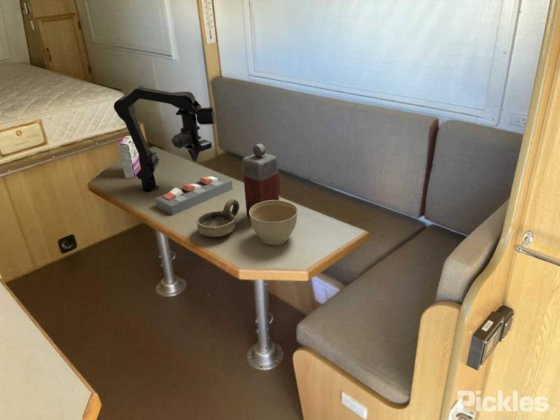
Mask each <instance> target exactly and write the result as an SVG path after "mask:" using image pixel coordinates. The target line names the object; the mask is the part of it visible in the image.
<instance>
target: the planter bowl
mask: <svg viewBox="0 0 560 420" xmlns="http://www.w3.org/2000/svg"><path fill="white" fill-rule="evenodd" d="M298 211H299V209H298V207H297V205H295V204H294V203H292V202H290V201H286V200H281V199H279V200H269V201H264V202H260V203H257V204H255V205H254V206H253V207H251V209H250V211H249V215H250V217H249V218H250V223H251V226H252V228H253V230H254V232H255V233H256V234H257V235H258V237H259V238H260V241H261V242H262V243H263V244H265V245H269V246H279V245H283V244H285V243H286V242H287V241H288V240H289V238H290V236H291V235H292V233H293V232H294V230H295V228H296V226H297V225H296V224H297V221H298V215H299V214H298Z"/></svg>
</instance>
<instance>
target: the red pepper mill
mask: <svg viewBox="0 0 560 420" xmlns="http://www.w3.org/2000/svg"><path fill="white" fill-rule="evenodd" d="M277 157H278V156H275V155H272V154H268V153H266V147H265V146H264V145H263V144H262V143H258V144H255V145H253V147H252V154H251V155H247V156H245V157H243V158H242V161H241V163H242V174H243V186H244V197H245V198H244V199H245V208H246V209H245V210H246V217H247V216H248V218H250V215H249V211H250V209H251V207H253V206H254V205H255V204H257V203H260V202H264V201H269V200H280V195H281V191H282V190H281V176H280V172H279V168H278V158H277Z"/></svg>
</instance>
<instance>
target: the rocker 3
mask: <svg viewBox="0 0 560 420" xmlns="http://www.w3.org/2000/svg"><path fill="white" fill-rule="evenodd" d="M199 180H200V182H203V183H205V184H210V183H213V182H215V181H217V180H218V178H215V177H209V176H202V177H200V179H199Z"/></svg>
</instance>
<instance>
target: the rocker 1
mask: <svg viewBox="0 0 560 420" xmlns="http://www.w3.org/2000/svg"><path fill="white" fill-rule="evenodd" d="M165 194H166V195H165V196H163V197H164V199H166V200H168V201H169V200H172V199H174V198H177V197H179V196H180V195H181V194H183V193H182V191H181V190H180V189H179V188H178V187H176V186H175V187H174V188H173V189H171V190H170V191H168V192H167V193H165Z"/></svg>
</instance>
